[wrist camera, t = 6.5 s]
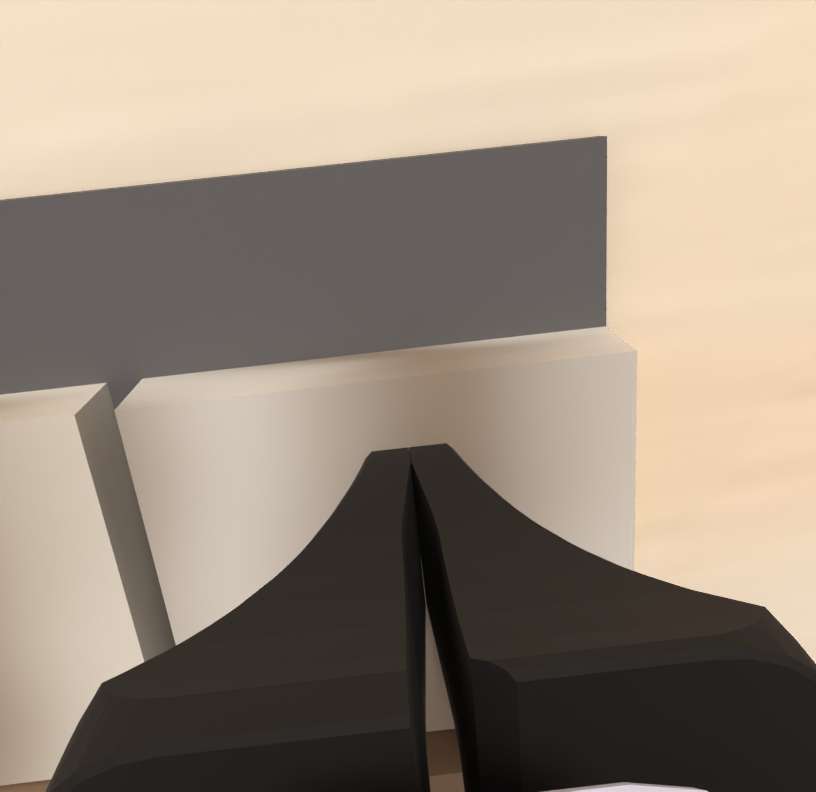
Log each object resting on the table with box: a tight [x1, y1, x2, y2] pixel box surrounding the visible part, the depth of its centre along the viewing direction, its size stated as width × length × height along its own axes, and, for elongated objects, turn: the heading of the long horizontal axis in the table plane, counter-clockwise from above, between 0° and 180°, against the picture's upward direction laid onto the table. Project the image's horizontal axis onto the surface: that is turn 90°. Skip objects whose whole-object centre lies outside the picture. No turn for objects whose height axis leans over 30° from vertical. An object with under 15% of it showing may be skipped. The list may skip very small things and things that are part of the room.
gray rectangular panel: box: [0, 136, 607, 410], centre depth 13 cm, size 17×11×1 cm, turn 96°
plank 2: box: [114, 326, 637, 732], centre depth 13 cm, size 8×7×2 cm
